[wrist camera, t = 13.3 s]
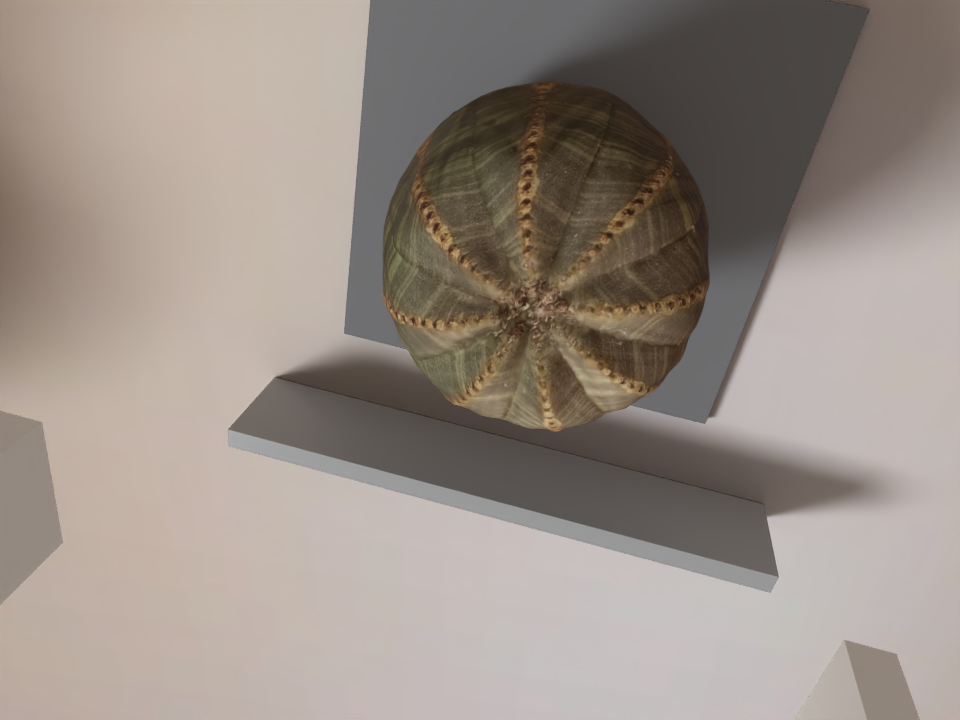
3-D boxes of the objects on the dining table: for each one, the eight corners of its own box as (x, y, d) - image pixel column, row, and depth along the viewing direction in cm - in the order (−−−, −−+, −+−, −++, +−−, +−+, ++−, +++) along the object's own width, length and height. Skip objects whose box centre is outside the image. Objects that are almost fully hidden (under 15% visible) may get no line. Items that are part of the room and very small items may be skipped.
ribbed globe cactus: (588, 360, 34) (561, 534, 24) (392, 223, 33) (275, 345, 23) (757, 173, 29) (815, 294, 19) (531, 0, 28) (458, 27, 17)
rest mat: (346, 329, 37) (344, 333, 36) (380, -86, 28) (377, -87, 27) (704, 419, 35) (705, 423, 35) (866, 8, 26) (869, 8, 26)
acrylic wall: (274, 392, 40) (228, 446, 35) (274, 377, 39) (228, 429, 35) (757, 519, 37) (770, 592, 33) (764, 504, 37) (778, 577, 32)
